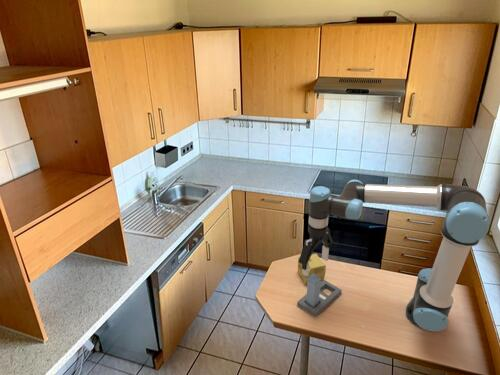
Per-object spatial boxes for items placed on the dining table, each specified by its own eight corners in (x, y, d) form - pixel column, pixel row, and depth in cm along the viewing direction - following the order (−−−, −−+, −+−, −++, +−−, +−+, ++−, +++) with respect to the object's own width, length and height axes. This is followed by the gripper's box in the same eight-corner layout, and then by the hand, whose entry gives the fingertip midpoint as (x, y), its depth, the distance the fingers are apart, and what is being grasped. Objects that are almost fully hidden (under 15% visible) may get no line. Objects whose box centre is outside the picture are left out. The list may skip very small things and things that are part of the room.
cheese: (304, 286, 180) (305, 269, 176) (296, 271, 189) (297, 255, 185) (324, 281, 183) (326, 265, 178) (315, 267, 192) (316, 252, 187)
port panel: (341, 293, 175) (341, 289, 174) (315, 317, 162) (315, 313, 161) (323, 283, 181) (323, 279, 180) (297, 305, 169) (297, 301, 168)
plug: (318, 306, 168) (321, 278, 161) (313, 311, 166) (315, 283, 158) (311, 301, 171) (313, 273, 164) (305, 306, 169) (307, 278, 161)
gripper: (328, 208, 159) (325, 249, 168) (290, 233, 143) (289, 277, 153) (343, 215, 154) (339, 257, 163) (305, 241, 138) (303, 285, 148)
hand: (315, 266), depth 158 cm, fingers open, 13 cm apart
